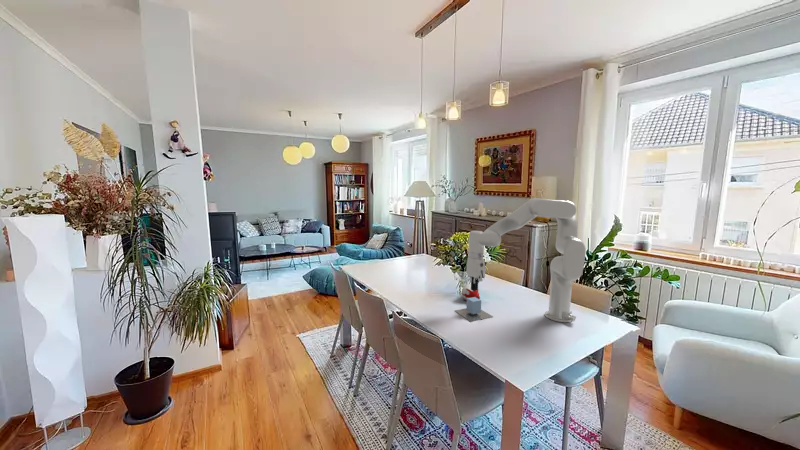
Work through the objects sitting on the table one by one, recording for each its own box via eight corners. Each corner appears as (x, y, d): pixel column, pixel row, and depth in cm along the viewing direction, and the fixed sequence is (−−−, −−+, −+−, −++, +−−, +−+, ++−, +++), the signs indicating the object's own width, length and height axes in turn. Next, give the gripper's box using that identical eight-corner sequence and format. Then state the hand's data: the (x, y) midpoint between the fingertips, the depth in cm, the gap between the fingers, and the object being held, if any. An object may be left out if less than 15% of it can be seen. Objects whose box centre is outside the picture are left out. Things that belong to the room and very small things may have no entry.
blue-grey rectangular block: (480, 312, 157) (481, 300, 157) (472, 314, 155) (473, 301, 154) (474, 308, 162) (475, 297, 161) (466, 310, 160) (466, 298, 159)
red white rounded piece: (471, 293, 188) (486, 305, 174) (455, 295, 184) (469, 307, 170) (472, 280, 186) (488, 290, 172) (456, 281, 182) (471, 293, 168)
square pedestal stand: (493, 317, 155) (493, 303, 154) (470, 321, 150) (471, 307, 149) (475, 307, 168) (476, 294, 167) (454, 311, 162) (454, 297, 162)
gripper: (491, 257, 150) (489, 293, 152) (472, 251, 163) (471, 284, 166) (479, 259, 147) (477, 295, 149) (461, 252, 160) (459, 286, 163)
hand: (474, 289), depth 157 cm, fingers closed
